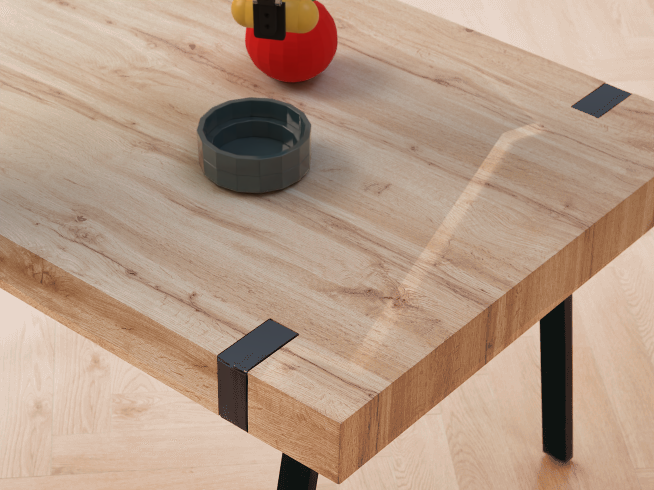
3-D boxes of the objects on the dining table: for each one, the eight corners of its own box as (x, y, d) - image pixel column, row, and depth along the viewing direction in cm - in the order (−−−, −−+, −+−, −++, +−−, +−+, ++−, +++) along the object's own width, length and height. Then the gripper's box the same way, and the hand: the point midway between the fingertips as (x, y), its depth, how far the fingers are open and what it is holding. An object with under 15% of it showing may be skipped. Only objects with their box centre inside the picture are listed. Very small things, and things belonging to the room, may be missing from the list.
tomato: (353, 86, 122) (356, 5, 116) (269, 107, 118) (267, 24, 112) (312, 45, 129) (312, -34, 122) (231, 63, 125) (227, -17, 118)
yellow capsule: (228, 31, 109) (226, -1, 107) (236, 15, 112) (235, -17, 110) (315, 41, 109) (315, 8, 106) (321, 24, 111) (322, -8, 109)
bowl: (179, 177, 108) (175, 139, 105) (235, 123, 116) (233, 87, 113) (278, 209, 105) (277, 171, 102) (328, 151, 112) (329, 114, 110)
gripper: (251, -189, 104) (257, -12, 117) (206, -126, 92) (218, 64, 104) (327, -182, 104) (325, -5, 116) (292, -118, 92) (294, 72, 104)
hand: (274, 26), depth 110 cm, fingers closed on yellow capsule, 3 cm apart
